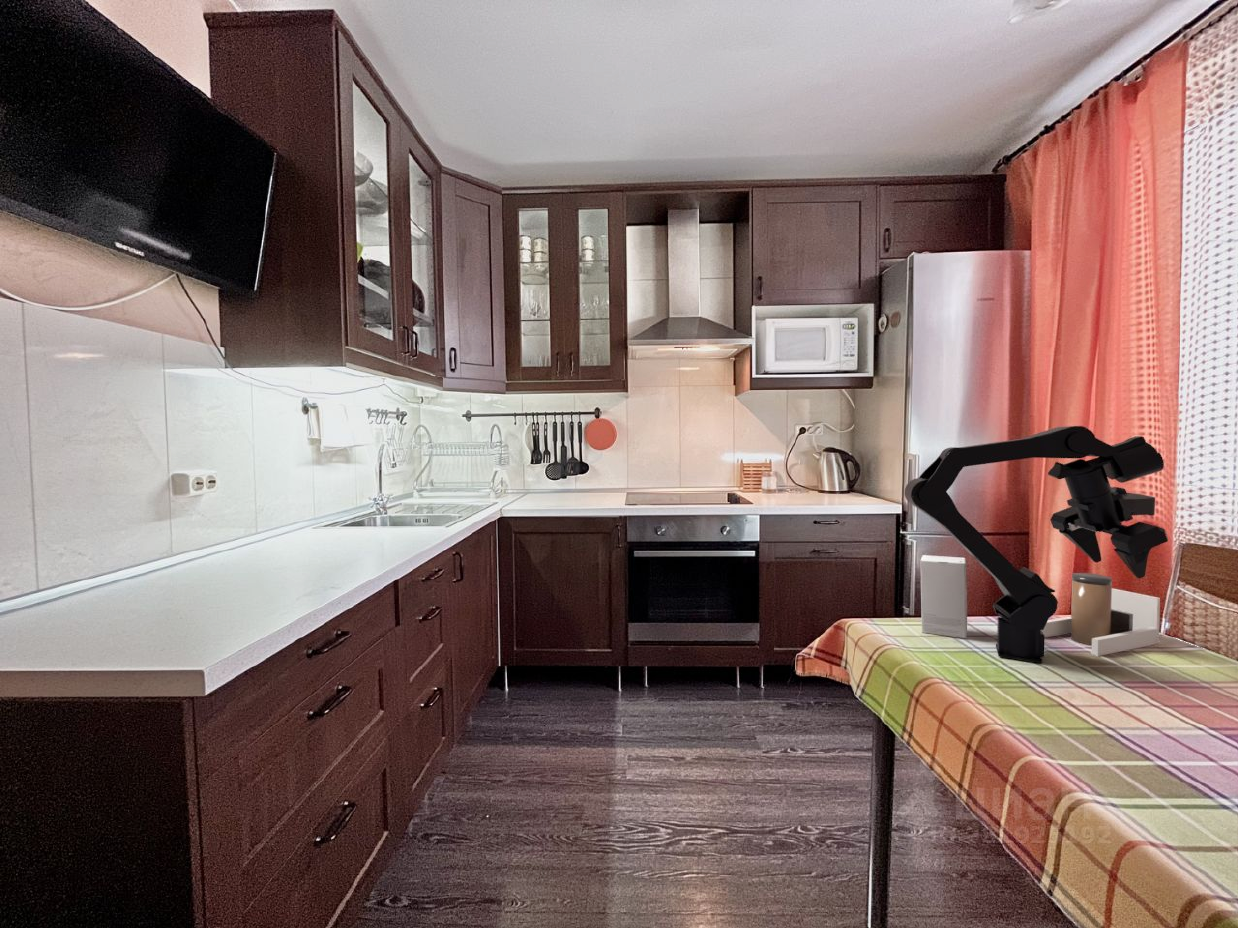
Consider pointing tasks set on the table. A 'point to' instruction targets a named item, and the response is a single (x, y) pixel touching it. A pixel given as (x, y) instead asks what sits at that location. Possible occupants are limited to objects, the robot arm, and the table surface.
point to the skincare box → (944, 596)
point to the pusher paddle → (1121, 622)
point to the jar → (1090, 607)
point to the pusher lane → (1142, 634)
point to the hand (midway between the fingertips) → (1118, 569)
